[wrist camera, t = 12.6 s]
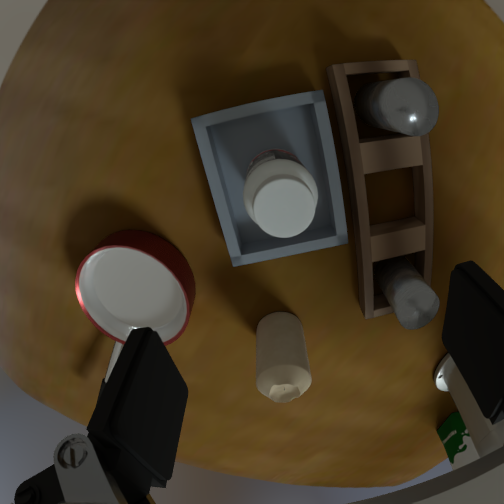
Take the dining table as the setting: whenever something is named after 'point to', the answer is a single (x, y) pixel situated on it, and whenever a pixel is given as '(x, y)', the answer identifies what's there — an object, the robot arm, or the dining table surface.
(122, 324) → the frying pan
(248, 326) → the dining table surface
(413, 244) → the socket rack
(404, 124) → the peg
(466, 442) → the milk carton
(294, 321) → the candle
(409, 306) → the peg
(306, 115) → the tray
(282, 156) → the pill bottle
